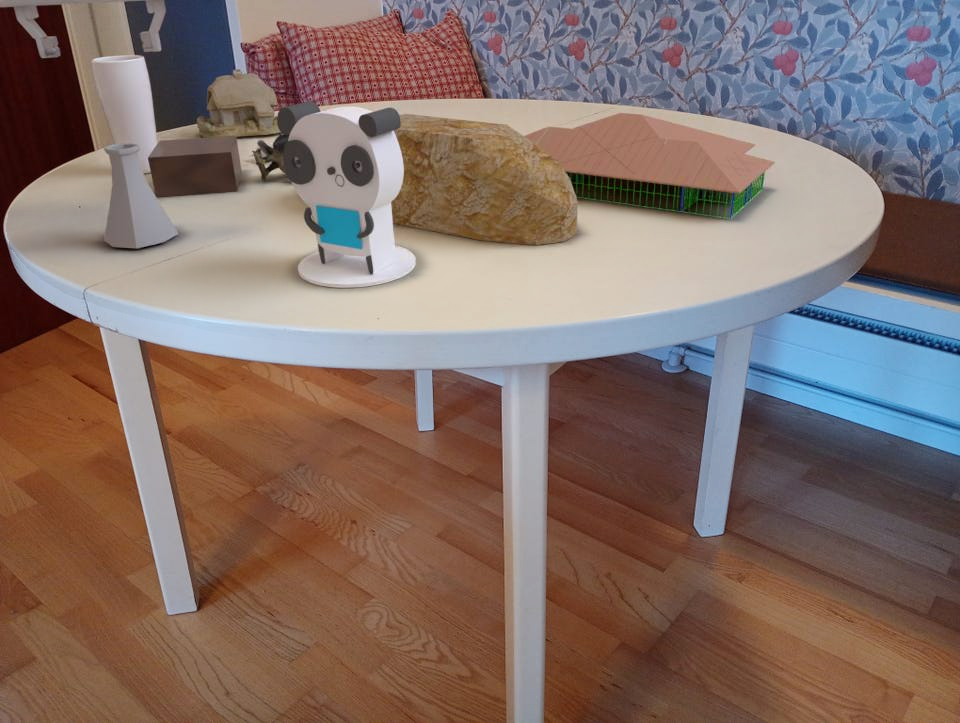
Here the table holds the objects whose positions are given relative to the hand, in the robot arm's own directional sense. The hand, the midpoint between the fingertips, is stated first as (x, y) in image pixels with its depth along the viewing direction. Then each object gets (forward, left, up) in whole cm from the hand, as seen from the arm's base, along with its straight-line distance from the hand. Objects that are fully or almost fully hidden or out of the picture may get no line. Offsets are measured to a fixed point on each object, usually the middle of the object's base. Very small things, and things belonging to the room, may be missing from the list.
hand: (102, 54), depth 80 cm
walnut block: (+4, +22, -19) cm, 29 cm away
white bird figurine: (+13, +32, -19) cm, 39 cm away
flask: (0, 0, -19) cm, 19 cm away
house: (+59, +8, -19) cm, 62 cm away
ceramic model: (+8, +54, -19) cm, 58 cm away
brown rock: (+32, +1, -19) cm, 37 cm away
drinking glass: (-5, +32, -19) cm, 38 cm away
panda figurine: (+22, -14, -19) cm, 32 cm away
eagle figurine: (+16, +21, -19) cm, 33 cm away
